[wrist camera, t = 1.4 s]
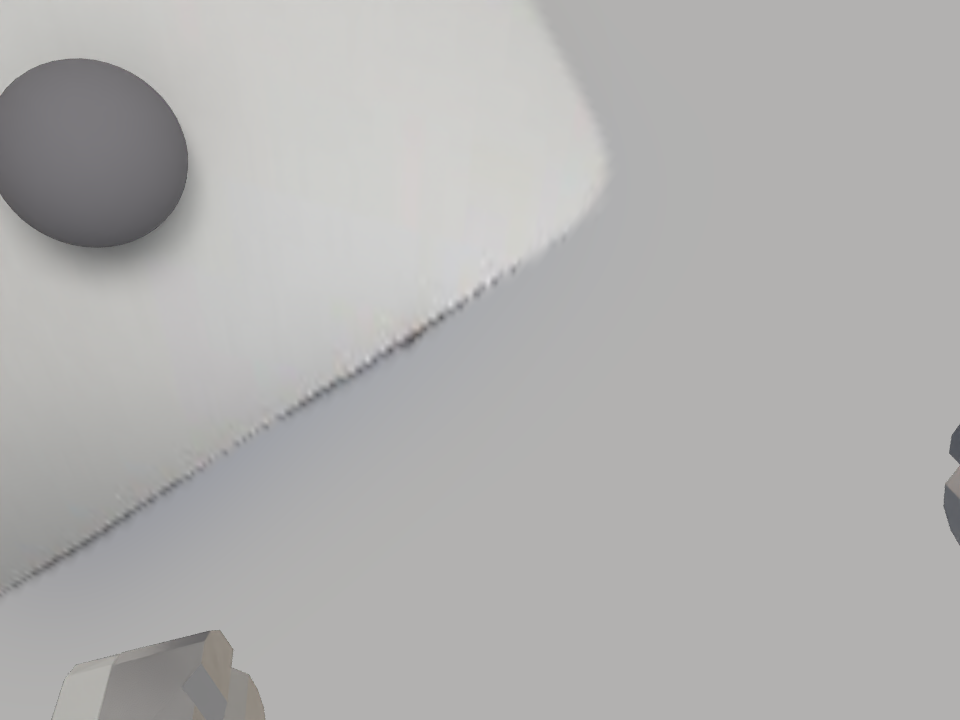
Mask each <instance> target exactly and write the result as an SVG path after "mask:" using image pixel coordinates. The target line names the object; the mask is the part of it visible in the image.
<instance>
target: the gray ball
mask: <svg viewBox="0 0 960 720" xmlns="http://www.w3.org/2000/svg"><path fill="white" fill-rule="evenodd" d="M187 170H188V153H187V147H186V142H185V138H184V135H183V132H182V129H181V127H180V124H179V122H178V120H177V118H176V116H175V115H174V113H173V111H172V110H171V108H170V107H169V105H168V104H167V103H166V102H165V100H164V99H163V98H162V97H161V96H160V95H159V94H158V93H157V92H156V91H155V90H154V89H153V88H152V87H151V86H150V85H148V84H147V83H146V82H144V81H143V80H142V79H140V78H139V77H137V76H135V75H134V74H132V73H130V72H128V71H126V70H124V69H122V68H120V67H117V66H115V65H112V64H109V63H106V62H101V61H97V60H90V59H64V60H58V61H52V62H49V63H45V64H42V65H39V66H37V67H35V68H33V69H31V70H29V71H27V72H26V73H24V74H23V75H21V76H20V77H18V78H17V79H15V80H14V81H13V82H12V83H11V84H10V85H9V86H8V87H7V88H6V89H5V90H4V92H3V93H2V94H1V96H0V194H1V195H2V197H3V199H4V200H5V201H6V202H7V204H8V205H9V206H10V207H11V208H12V210H13V211H14V212H15V213H16V214H17V215H18V216H19V217H20V218H21V219H23V220H24V221H25V222H26V223H28V224H29V225H30V226H32V227H33V228H35V229H36V230H38V231H39V232H41V233H43V234H45V235H47V236H49V237H51V238H53V239H56V240H59V241H61V242H65V243H68V244H72V245H77V246H84V247H111V246H117V245H122V244H125V243H128V242H132V241H134V240H136V239H138V238H140V237H143V236H145V235H146V234H148V233H150V232H151V231H153V230H154V229H155V228H157V227H158V226H159V225H160V224H161V223H162V222H163V221H164V220H165V219H166V218H167V217H168V216H169V215H170V214H171V213H172V211H173V210H174V208H175V207H176V205H177V203H178V201H179V199H180V197H181V195H182V192H183V190H184V187H185V183H186V179H187Z"/></svg>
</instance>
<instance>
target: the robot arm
mask: <svg viewBox="0 0 960 720" xmlns="http://www.w3.org/2000/svg"><path fill="white" fill-rule="evenodd" d="M949 453H950V455H952V457H954V459H955V460H956V461H957V462H958V463H959V464H960V425H959V426H958V427H957V429H956V430H955V432H954V433H953V434H952V437H951V444H950V451H949ZM944 509H945V513H946V516H947V519H948V523H949V526H950V529H951V531H952V533H953V535H954V536H955V538H956V540H957V542H958V543H959V545H960V466H959V467H958V469H957V470H956V471H955V472H954V474H953V475H952V476H951V477H950V478H949V480H948V481H947V482H946V484H945V494H944ZM232 656H233V648H232V647H231V645H230V644H229V642H228V641H227V639H226V638H225V637H224V635H223V634H222V632H221V631H220V630H217V631H216V630H215V631H207V632H203V633H199V634H195V635H191V636H187V637H183V638H179V639H175V640H171V641H167V642H162V643H159V644H154V645H151V646H146V647H142V648H138V649H134V650H130V651H126V652H122V653H121V654H117V655H113V656H109V657H105V658H101V659H97V660H93V661H89V662H85V663H81V664H77V665H75V667H74V668H73V669H72V670H71V671H70V673H69V674H68V675H67V676H66V678H65V679H64V682H63V685H62V688H61V691H60V694H59V698H58V701H57V704H56V707H55V710H54V713H53V716H52V720H265V714H264V707H263V704H262V701H261V698H260V695H259V692H258V690H257V688H256V686H255V684H254V682H253V681H252V679H251V677H250V676H249V674H246V673H244V672H241V671H239V670H237V669H234V668H232V667H231V665H232Z"/></svg>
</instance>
